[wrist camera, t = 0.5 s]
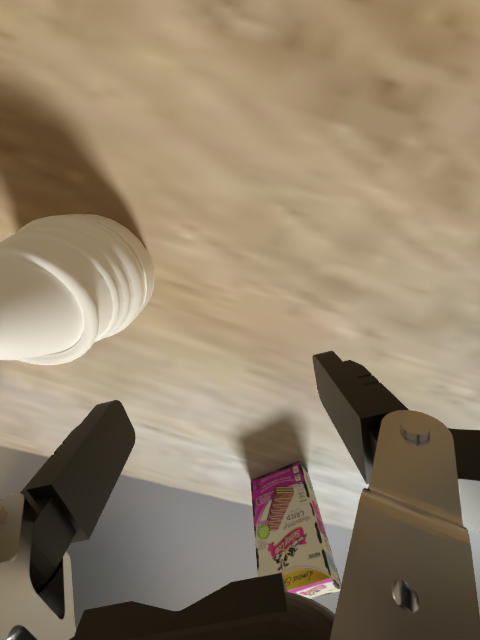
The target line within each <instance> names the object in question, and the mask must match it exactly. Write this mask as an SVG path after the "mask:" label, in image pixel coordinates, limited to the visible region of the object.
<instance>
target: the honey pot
mask: <svg viewBox="0 0 480 640" xmlns="http://www.w3.org/2000/svg"><path fill="white" fill-rule="evenodd" d="M154 283H155V276H154V267H153V264H152V261H151V259H150V256H149V253H148V252H147V250H146V249H145V247H144V246H143V244H142V243H141V241H140V240H139V239H138V238H137V237H136V236H135V235H134V234H133V233H132V232H131V231H130V230H129V229H127V228H126V227H124V226H122V225H121V224H119V223H117V222H116V221H114V220H112V219H109V218H106V217H103V216H100V215H94V214H69V215H57V216H48V217H44V218H40V219H36V220H33V221H31V222H29V223H28V224H26V225H25V226H23V227H22V228H20V229H18V230H17V231H16V233H15V234H14V235H12V236H10V237H9V238H7V239H6V240H4V241H3V242H1V243H0V360H19V361H22V362H27V363H32V364H36V365H57V364H62V363H67V362H70V361H72V360H74V359H76V358H78V357H80V356H82V355H83V354H84V353H85V352H86V351H87V350H88V349H89V348H90V347H91V346H92V345H93V343H94V342H96V341H98V340H100V339H102V338H105V337H110V336H112V335H114V334H116V333H118V332H120V331H122V330H123V329H125V328H126V327H127V326H128V325H129V324H130V323H131V322H132V321H133V320H134V319H135V317H137V315H138V314H139V313H140V312H141V310H142V309H143V308H144V307H145V305H146V304H147V303H148V301H149V299H150V297H151V295H152V293H153V289H154ZM64 350H66V351H64ZM61 351H62V352H61Z"/></svg>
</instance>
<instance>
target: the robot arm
mask: <svg viewBox="0 0 480 640" xmlns="http://www.w3.org/2000/svg"><path fill="white" fill-rule="evenodd" d="M313 364H314V371H315V377H316V383H317V389H318V393H319V396H320V399H321V402H322V404H323V406H324V408H325V409H326V411H327V413H328V415H329V417H330V419H331V420H332V422H333V424H334V426H335V428H336V429H337V431H338V433H339V435H340V437H341V438H342V440H343V442H344V444H345V446H346V447H347V449H348V451H349V453H350V455H351V457H352V458H353V460H354V462H355V464H356V466H357V467H358V469H359V471H360V473H361V475H362V476H363V478H364V480H365V482H366V484H369V487H368V489H366V488H364V489H363V491H362V493H361V497H360V500H359V505H358V510H357V514H356V519H355V524H354V528H353V533H352V538H351V543H350V547H349V552H348V557H347V561H346V566H345V571H344V575H343V580H342V585H341V589H340V594H339V599H338V603H337V608H336V613H335V614H334V613H333V612H332V611H330V610H329V609H328V608H326V607H325V606H323V605H321V604H319V603H317V602H316V601H314V600H312V599H309V598H307V597H304V596H302V595H299V594H295V593H290V592H287V589H286V585H285V582H284V579H283V576H282V573H277V574H272V575H267V576H262V577H256V578H251V579H246V580H241V581H235V582H231V583H229V584H228V585H226V586H224V587H222V588H221V589H219V590H217V591H215V592H213V593H212V594H210V595H208V596H206V597H205V598H203V599H201V600H199V601H197V602H196V603H194V604H192V605H190V606H189V607H187V608H185V609H183V610H181V611H170V610H166V609H162V608H158V607H153V606H149V605H145V604H141V603H137V602H133V601H130V602H125V603H120V604H114V605H109V606H104V607H99V608H93V609H88V610H85V611H84V613H83V615H82V618H81V620H80V623H79V625H78V628H77V630H76V628H75V621H74V607H73V591H72V577H71V561H70V557H69V555H68V554H67V552H66V550H67V548H68V547H69V545H70V543H73V542H78V541H83V540H88V539H89V538H90V536H91V534H92V532H93V530H94V528H95V526H96V524H97V521H98V519H99V517H100V515H101V513H102V511H103V509H104V507H105V505H106V503H107V501H108V499H109V496H110V494H111V492H112V490H113V488H114V486H115V484H116V482H117V480H118V477H119V476H120V473H121V471H122V469H123V467H124V465H125V463H126V461H127V459H128V457H129V455H130V453H131V450H132V448H133V446H134V443H135V431H134V428H133V426H132V424H131V422H130V420H129V418H128V416H127V414H126V411H125V409H124V407H123V405H122V403H121V402H120V401H118V400H114V401H110V402H106V403H101V404H98V405H96V406H95V407H94V408H93V410H92V411H91V412H90V413H89V414H88V416H87V417H86V418H85V419H84V420H83V422H82V423H81V424H80V425H79V426H77V427H76V428H75V429H74V430H73V431H72V432H71V433H70V434H69V435H68V436H67V438H66V439H65V440H64V441H63V442H62V443H63V444H62V445H60V446H59V447H58V448H57V450H56V451H55V452H54V455H52V456H51V457H50V458H49V459H48V460H47V462H46V463H45V464H44V465H43V466H42V467H41V469H40V470H39V471H38V472H37V473H36V475H35V476H34V477H33V478H32V479H31V481H30V482H29V483H28V484H27V485H26V487H25V488H24V489H23V490H22V491H21V492H20V493H15V494H11V495H8V496H6V497H4V498H1V499H0V640H480V615H479V607H478V599H477V591H476V583H475V575H474V568H473V560H472V552H471V545H470V539H469V534H468V531H475V532H480V430H460V429H450V428H447V427H446V426H445V425H444V424H443V423H442V422H440V421H439V420H437V419H435V418H434V417H432V416H429V415H427V414H424V413H421V412H417V411H411V410H408V409H407V408H406V407H405V406H404V405H403V404H402V403H401V402H400V401H399V400H398V399H397V398H396V397H395V396H394V395H393V394H392V393H391V392H390V391H389V390H388V389H387V388H386V387H384V386H383V385H382V384H381V383H379V381H378V380H377V379H376V378H375V377H374V376H372V375H371V373H370V372H369V371H368V370H367V369H366V368H365V367H364V366H362V365H360V364H358V363H356V362H353V361H351V360H348V361H344V362H342V360H341V359H340V358H339V357H338V356H337V355H336V354H335V353H334V352H333V351H329V352H324V353H320V354H316V355H313Z"/></svg>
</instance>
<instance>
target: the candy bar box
mask: <svg viewBox="0 0 480 640" xmlns="http://www.w3.org/2000/svg"><path fill="white" fill-rule="evenodd" d="M251 491H252V504H253V517H254V531H255V543H256V544H255V545H256V557H257V569H258V577H262V576H267V575H272V574H277V573H282V576H283V579H284V582H285V585H286V589H287V592H290V593H295V594H299V595H302V596H304V597H307V598H309V599H311V598H315V597H319V596H322V595H326V594H330V593H333V592H337V591H340V589H341V583H340V579H339V576H338V573H337V569H336V566H335V563H334V559H333V556H332V552H331V548H330V545H329V542H328V538H327V535H326V532H325V528H324V525H323V522H322V518H321V515H320V511H319V508H318V504H317V501H316V498H315V494H314V491H313V487H312V484H311V480H310V477H309V474H308V473H307V471H306V470H305V469H304V467H303V466H302V464H301V463H300V462H298V463H295V464H293V465H290V466H288V467H285V468H283V469H280V470H278V471H275V472H273V473H270V474H268V475H265V476H262V477H260V478H257V479H255V480H252V481H251Z"/></svg>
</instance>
